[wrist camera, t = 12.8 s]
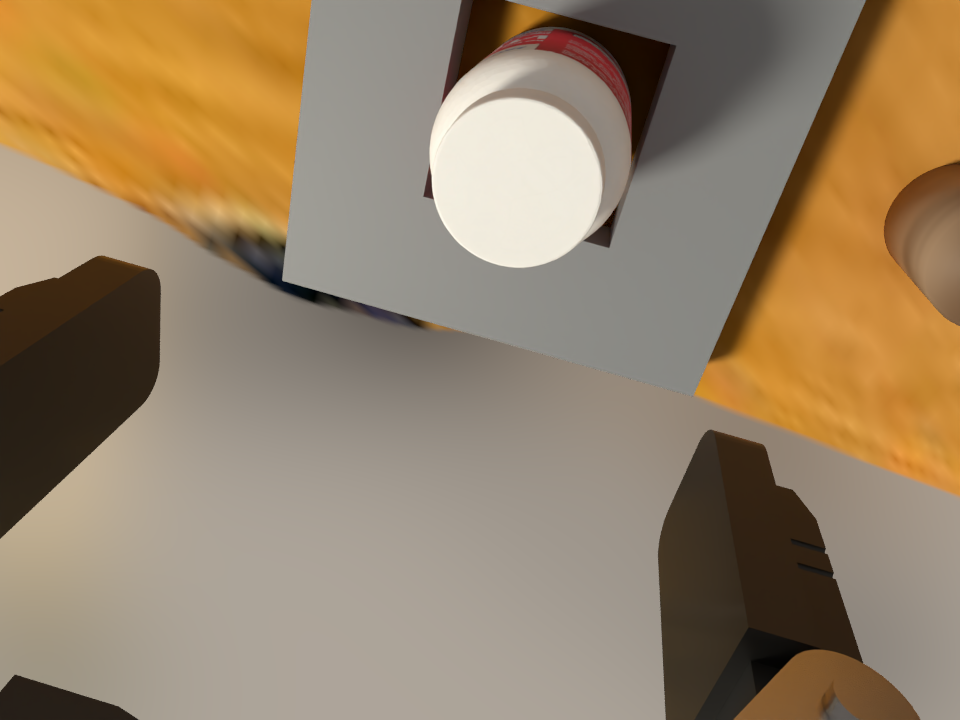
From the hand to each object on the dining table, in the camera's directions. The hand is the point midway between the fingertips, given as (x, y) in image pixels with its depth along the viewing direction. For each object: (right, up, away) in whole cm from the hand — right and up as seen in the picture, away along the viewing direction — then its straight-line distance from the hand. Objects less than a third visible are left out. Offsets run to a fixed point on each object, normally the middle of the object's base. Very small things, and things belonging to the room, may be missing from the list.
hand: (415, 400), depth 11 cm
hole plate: (+4, +10, +19) cm, 22 cm away
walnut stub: (+19, +6, +19) cm, 27 cm away
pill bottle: (+4, +10, +19) cm, 22 cm away
